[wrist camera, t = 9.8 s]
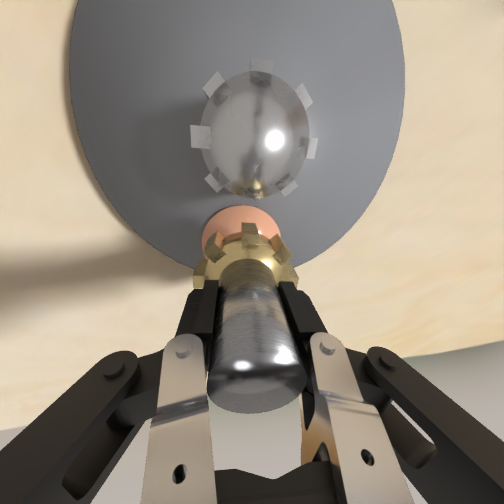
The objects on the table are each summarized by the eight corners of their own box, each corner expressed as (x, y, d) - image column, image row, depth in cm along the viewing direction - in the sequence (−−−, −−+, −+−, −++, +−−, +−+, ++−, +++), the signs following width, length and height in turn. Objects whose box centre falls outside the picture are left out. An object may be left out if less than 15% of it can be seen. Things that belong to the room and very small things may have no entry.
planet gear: (196, 219, 12) (142, 315, 5) (297, 225, 13) (378, 315, 6) (200, 301, 15) (169, 438, 8) (282, 302, 16) (324, 428, 8)
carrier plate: (15, -162, 9) (-347, -686, 3) (455, -55, 11) (664, -251, 6) (121, 268, 18) (74, 316, 13) (343, 274, 21) (381, 316, 15)
